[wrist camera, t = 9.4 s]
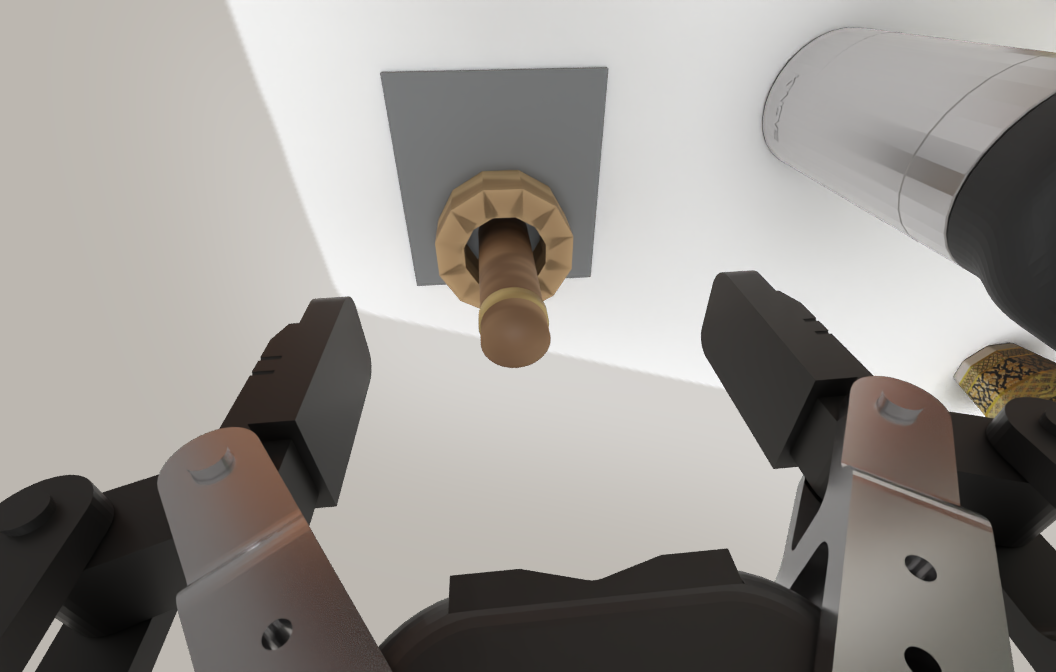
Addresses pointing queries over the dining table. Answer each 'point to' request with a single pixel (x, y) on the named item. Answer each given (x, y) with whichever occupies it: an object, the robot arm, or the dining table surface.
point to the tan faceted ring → (501, 200)
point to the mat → (496, 145)
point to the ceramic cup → (1006, 377)
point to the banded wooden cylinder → (510, 295)
